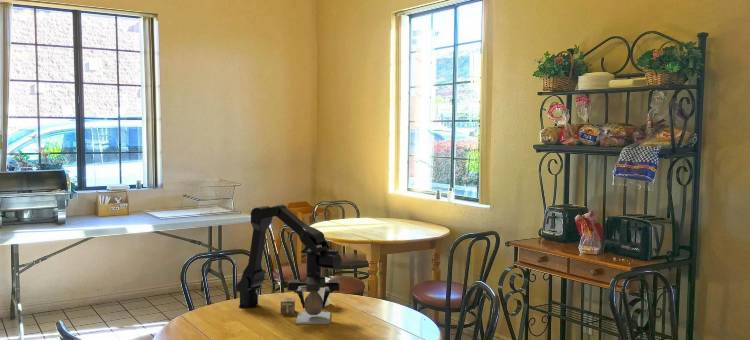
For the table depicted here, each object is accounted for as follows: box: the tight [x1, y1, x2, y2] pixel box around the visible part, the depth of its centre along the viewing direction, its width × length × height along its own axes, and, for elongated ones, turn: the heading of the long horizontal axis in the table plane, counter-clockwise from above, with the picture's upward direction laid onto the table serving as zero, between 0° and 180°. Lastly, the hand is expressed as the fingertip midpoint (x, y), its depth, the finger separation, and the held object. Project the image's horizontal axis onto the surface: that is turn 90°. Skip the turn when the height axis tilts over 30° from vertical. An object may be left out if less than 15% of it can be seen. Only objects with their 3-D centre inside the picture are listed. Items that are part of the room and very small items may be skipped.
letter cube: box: [280, 297, 296, 315], centre depth 236 cm, size 5×5×5 cm
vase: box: [304, 291, 323, 315], centre depth 229 cm, size 7×7×9 cm
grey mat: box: [295, 311, 331, 325], centre depth 229 cm, size 12×12×1 cm
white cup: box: [318, 276, 332, 307], centre depth 247 cm, size 8×8×10 cm
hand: (313, 308), depth 229 cm, fingers closed on vase, 7 cm apart
